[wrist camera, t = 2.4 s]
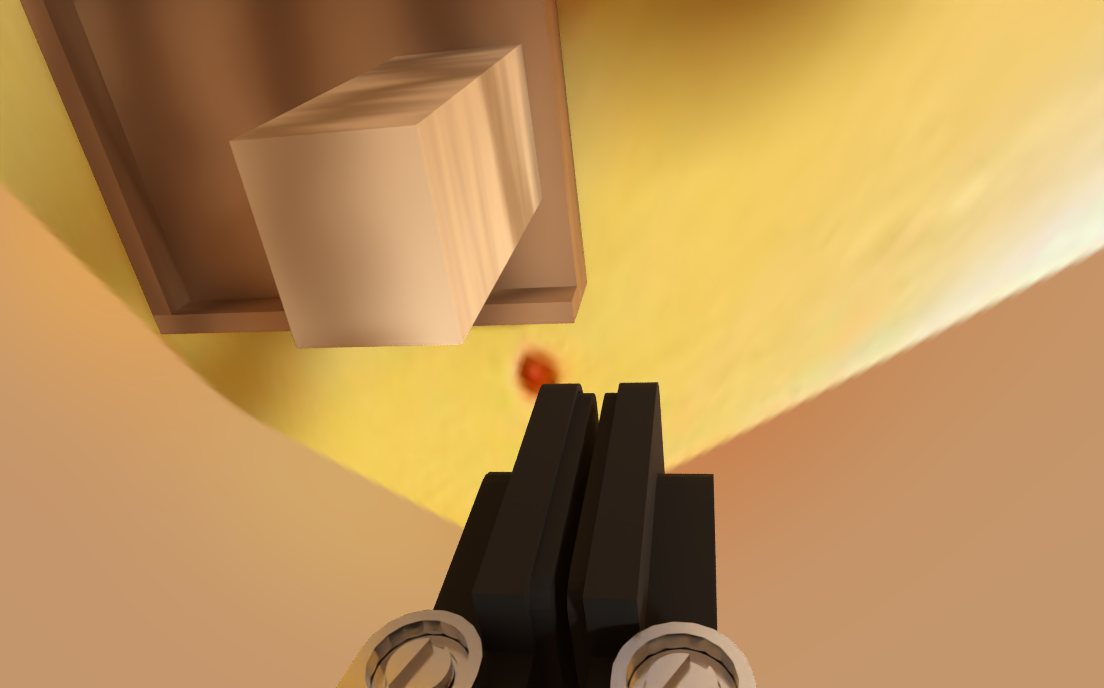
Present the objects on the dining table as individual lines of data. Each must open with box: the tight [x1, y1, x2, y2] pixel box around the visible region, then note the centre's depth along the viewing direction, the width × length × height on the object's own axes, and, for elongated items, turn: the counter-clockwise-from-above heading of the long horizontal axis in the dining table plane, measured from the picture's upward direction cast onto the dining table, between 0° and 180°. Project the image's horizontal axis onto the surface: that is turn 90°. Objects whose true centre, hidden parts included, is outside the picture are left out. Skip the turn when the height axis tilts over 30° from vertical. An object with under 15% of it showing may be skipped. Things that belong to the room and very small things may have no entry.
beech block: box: [229, 43, 542, 348], centre depth 25 cm, size 5×6×12 cm
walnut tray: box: [20, 0, 587, 334], centre depth 32 cm, size 20×16×4 cm
